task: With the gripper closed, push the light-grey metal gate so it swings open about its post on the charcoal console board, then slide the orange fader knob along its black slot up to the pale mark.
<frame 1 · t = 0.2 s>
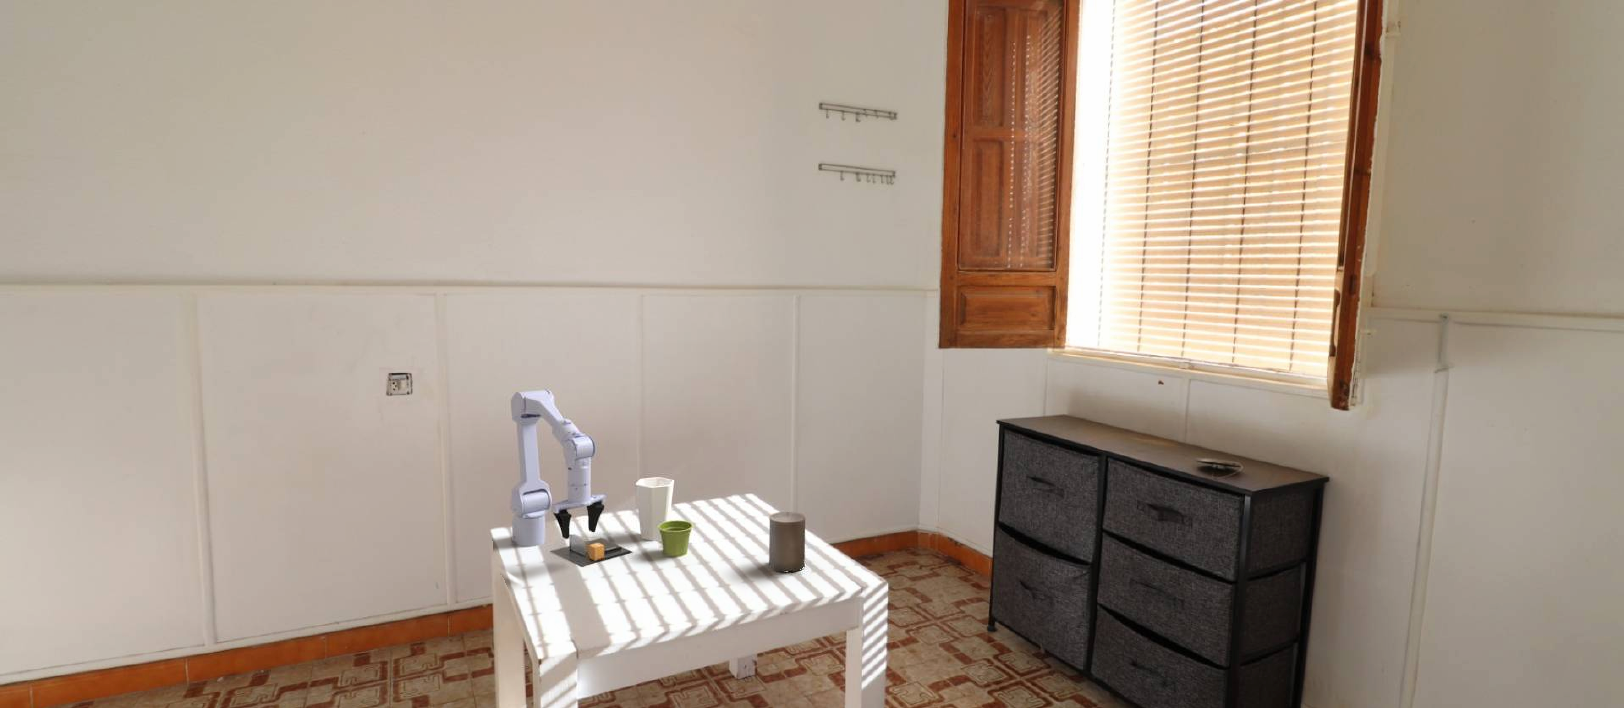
hand: (578, 534, 205), 9 cm above the table, fingers open, 7 cm apart
pillar candle: (786, 566, 212), on the table
gate: (579, 544, 215), point 3 cm above the table, hinge at 0.0°
fader: (596, 551, 211), point 3 cm above the table, slide at 0.0 cm
plant pot: (675, 557, 217), on the table
console: (591, 555, 216), on the table
cup: (654, 540, 230), on the table
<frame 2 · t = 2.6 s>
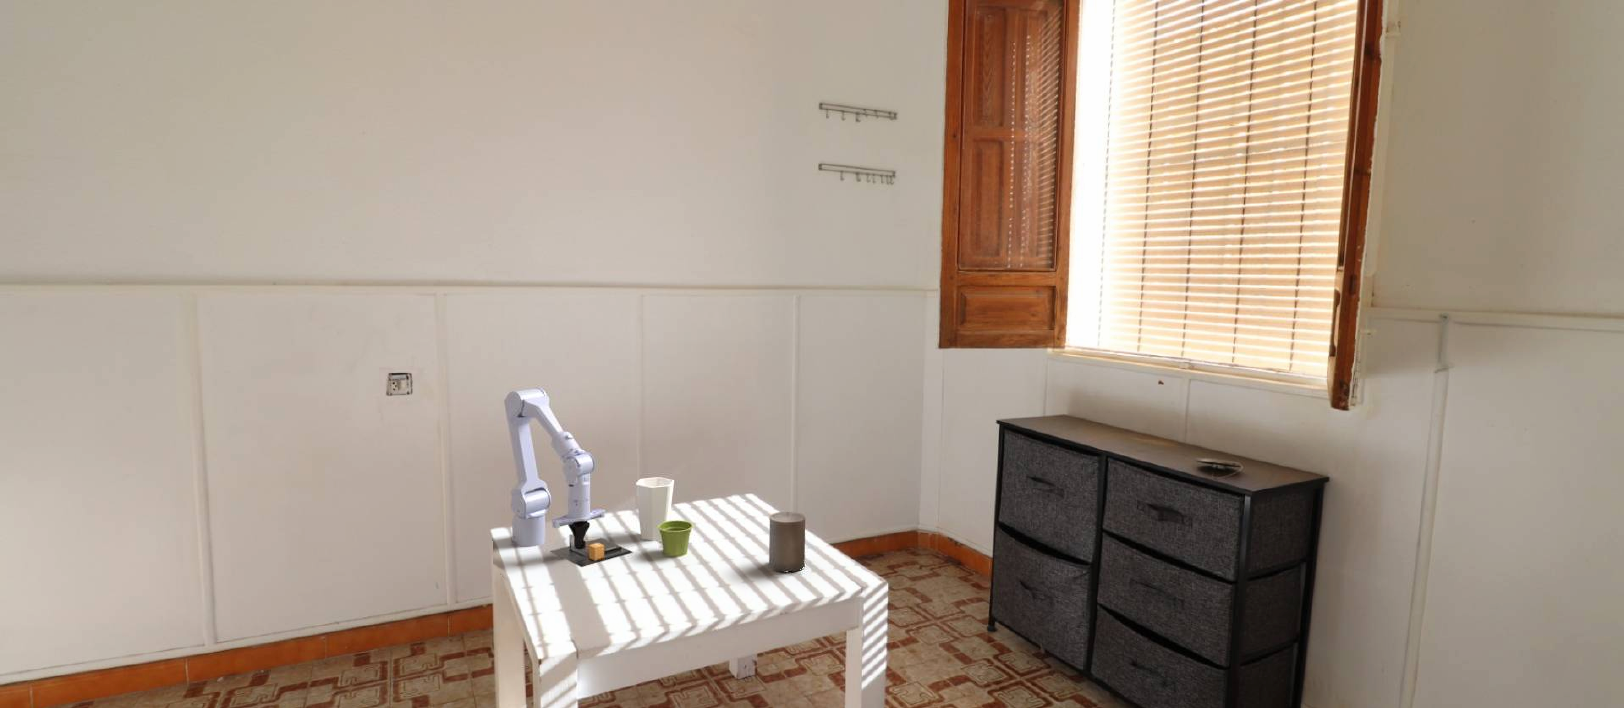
hand: (579, 548, 213), 3 cm above the table, fingers closed, pressing on gate
gate: (580, 544, 215), point 3 cm above the table, hinge at 1.2°, touching gripper
everything else where it was.
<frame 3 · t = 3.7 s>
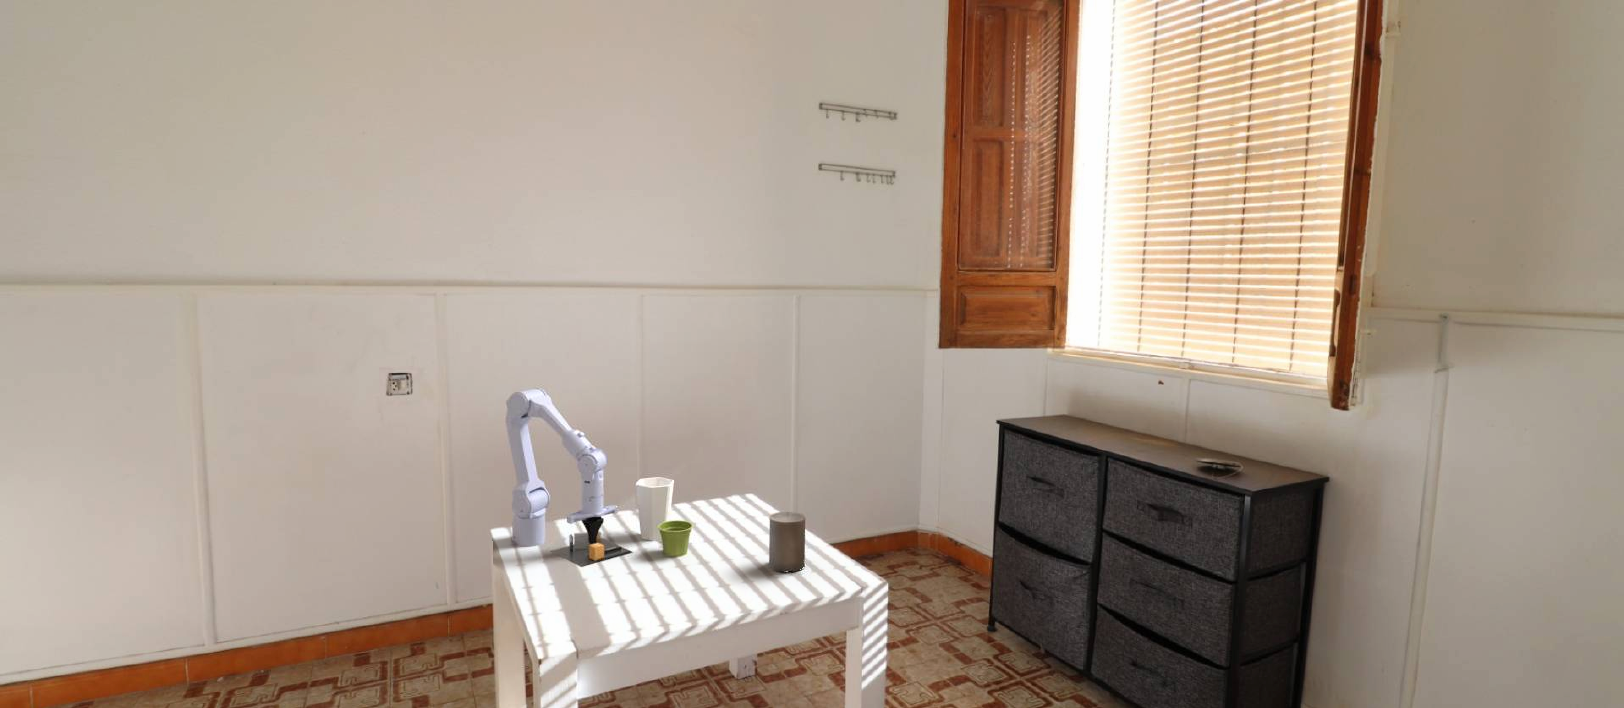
hand: (592, 543, 217), 3 cm above the table, fingers closed, pressing on gate
gate: (587, 539, 219), point 3 cm above the table, hinge at 58.7°, touching gripper
everything else where it was.
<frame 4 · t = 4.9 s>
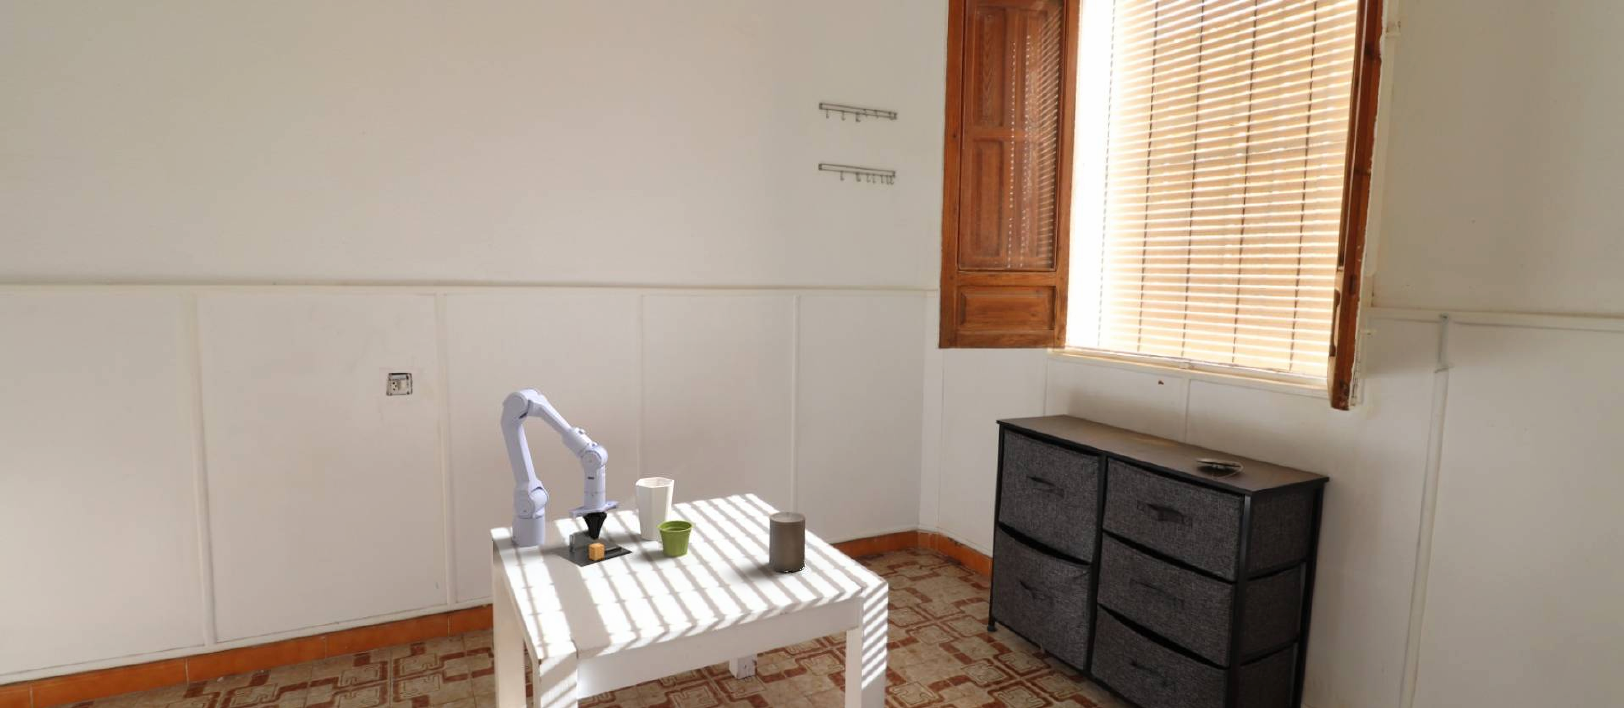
hand: (594, 538, 221), 3 cm above the table, fingers closed
gate: (585, 537, 221), point 3 cm above the table, hinge at 90.9°
everything else where it was.
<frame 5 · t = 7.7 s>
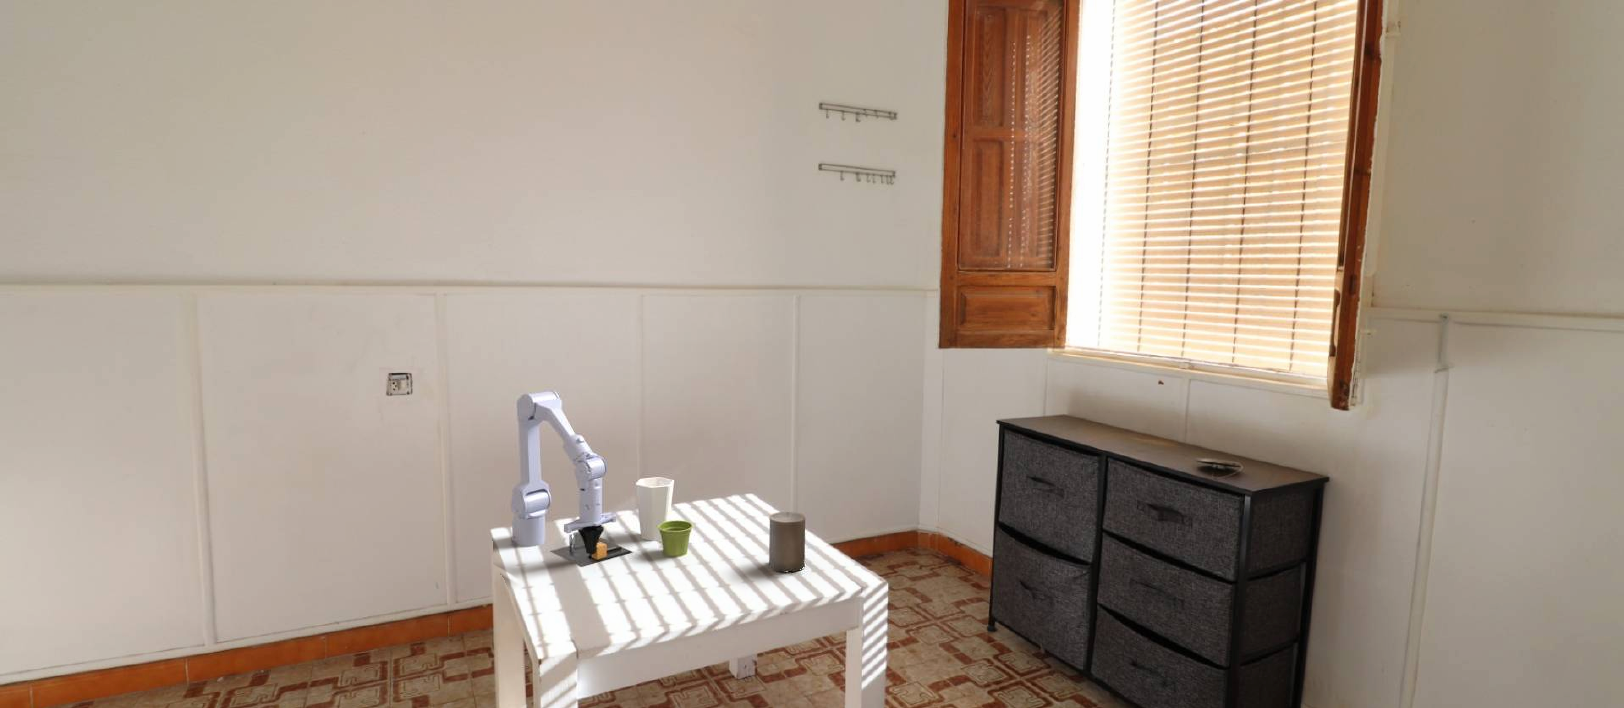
hand: (590, 553, 209), 3 cm above the table, fingers closed
fader: (599, 550, 211), point 3 cm above the table, slide at 0.7 cm, touching gripper
everything else where it was.
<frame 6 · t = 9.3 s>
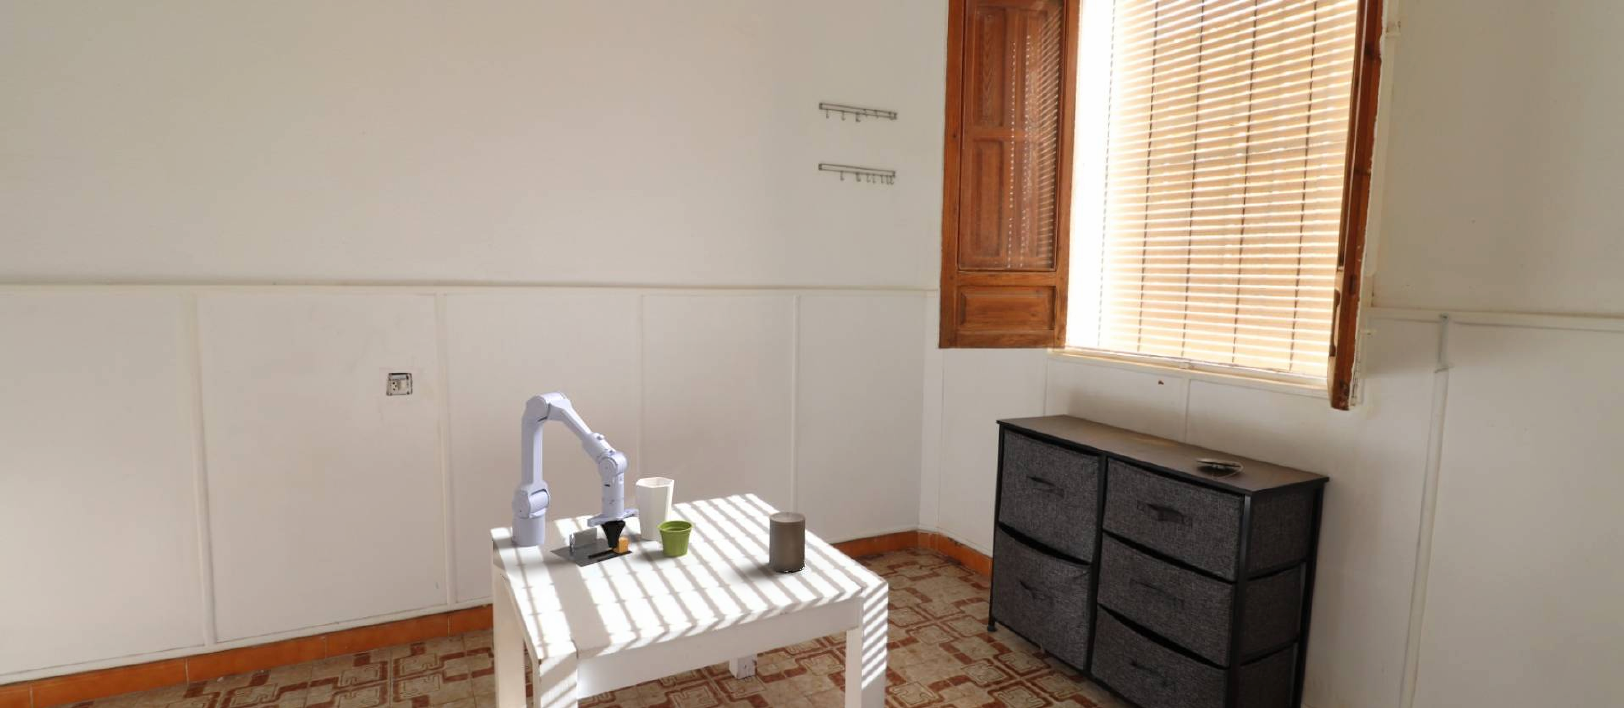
hand: (612, 547, 214), 3 cm above the table, fingers closed
fader: (620, 544, 216), point 3 cm above the table, slide at 7.5 cm, touching gripper
everything else where it was.
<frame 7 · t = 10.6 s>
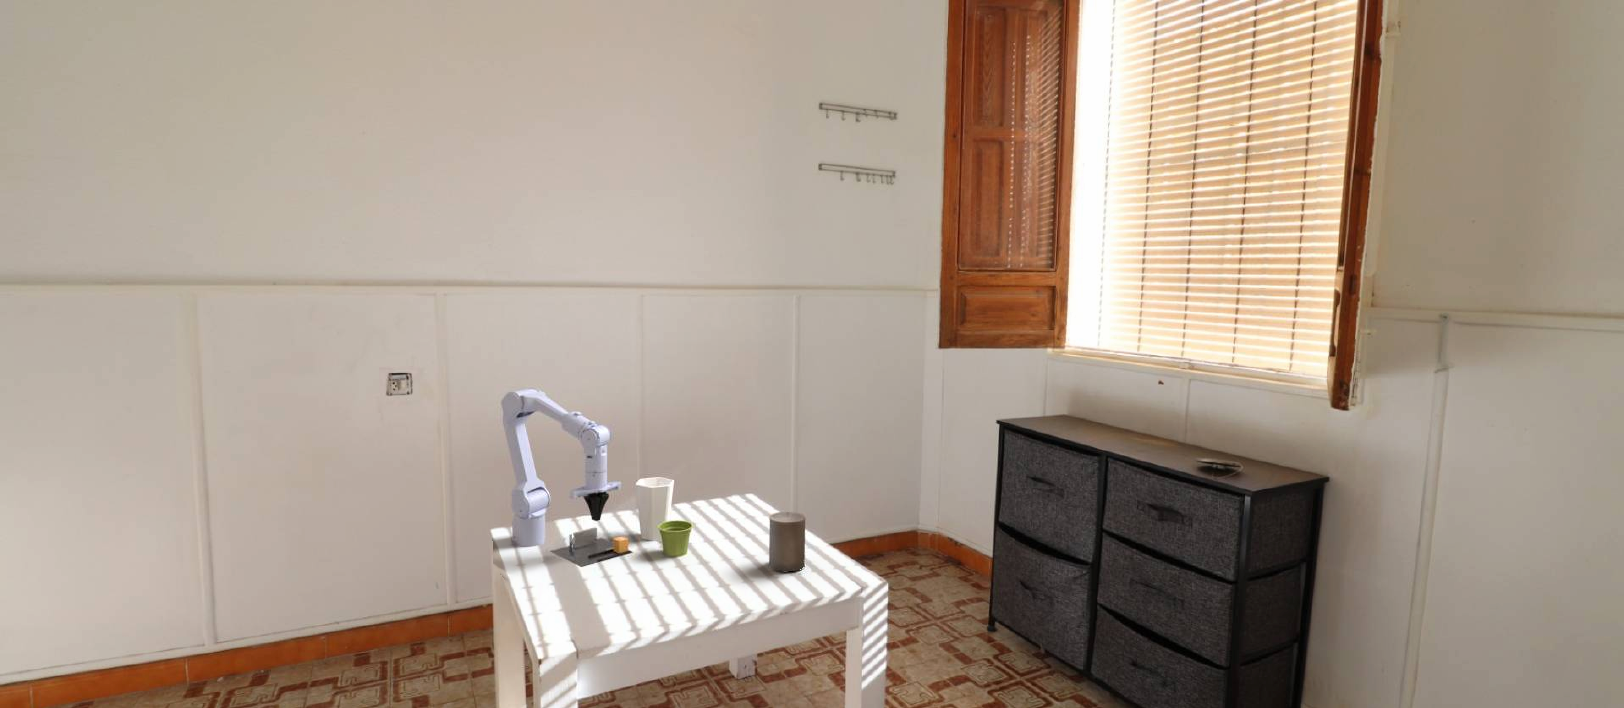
hand: (595, 519, 214), 10 cm above the table, fingers closed
fader: (620, 544, 216), point 3 cm above the table, slide at 7.5 cm
everything else where it was.
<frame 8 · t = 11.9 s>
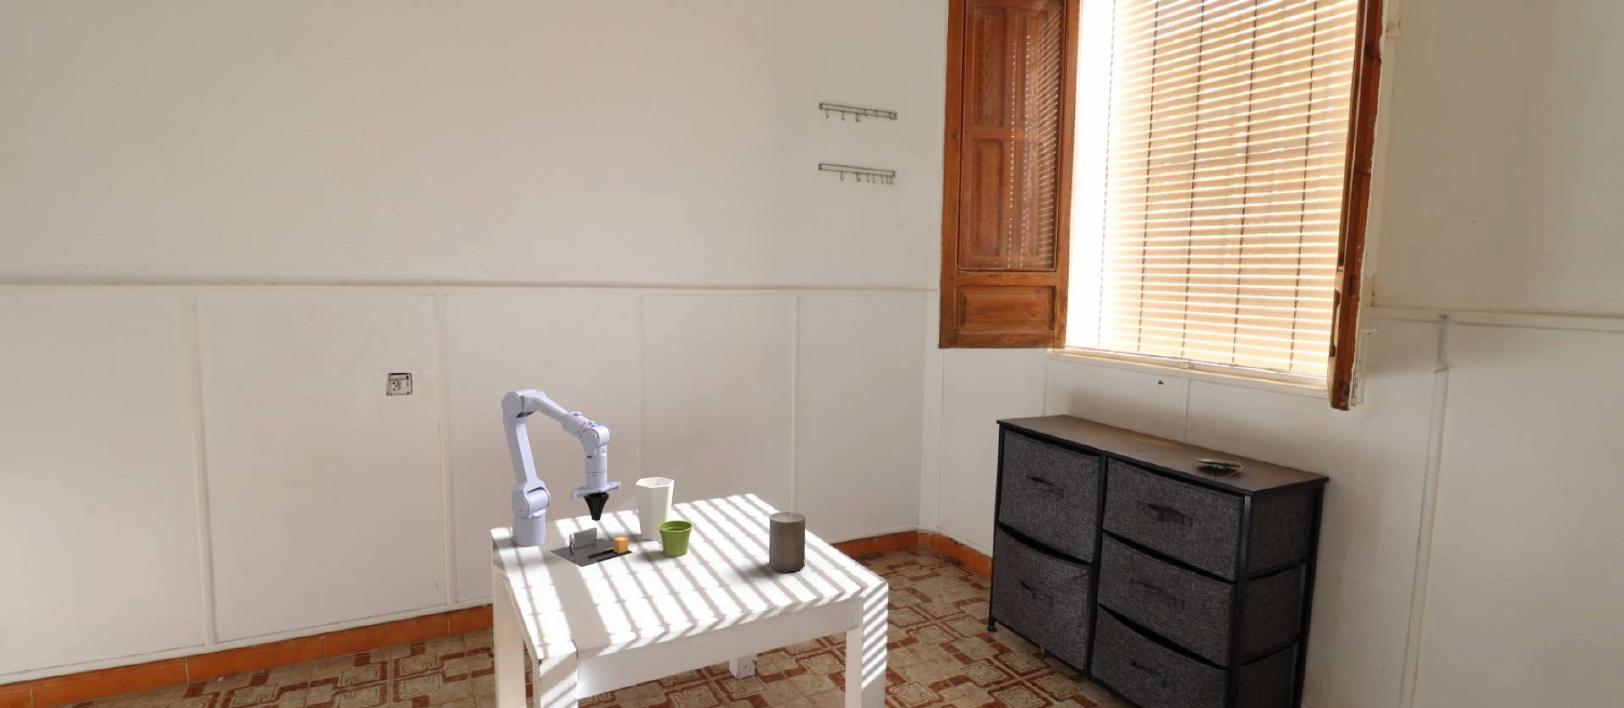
hand: (595, 519, 214), 10 cm above the table, fingers closed
nothing on the table moved.
at the end: gate at +91° (first picture: +0°); fader slide at 7.5 cm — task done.
